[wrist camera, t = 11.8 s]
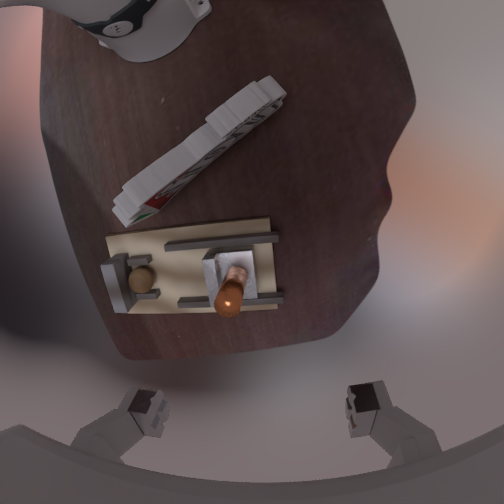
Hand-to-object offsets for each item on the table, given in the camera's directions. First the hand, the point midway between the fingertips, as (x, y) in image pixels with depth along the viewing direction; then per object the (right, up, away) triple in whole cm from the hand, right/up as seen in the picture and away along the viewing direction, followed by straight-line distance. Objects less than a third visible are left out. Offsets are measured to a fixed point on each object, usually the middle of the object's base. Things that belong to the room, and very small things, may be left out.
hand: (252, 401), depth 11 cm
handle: (-3, +4, +30) cm, 31 cm away
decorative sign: (-6, +20, +27) cm, 34 cm away
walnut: (-17, +2, +30) cm, 35 cm away
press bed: (-10, +4, +33) cm, 34 cm away
